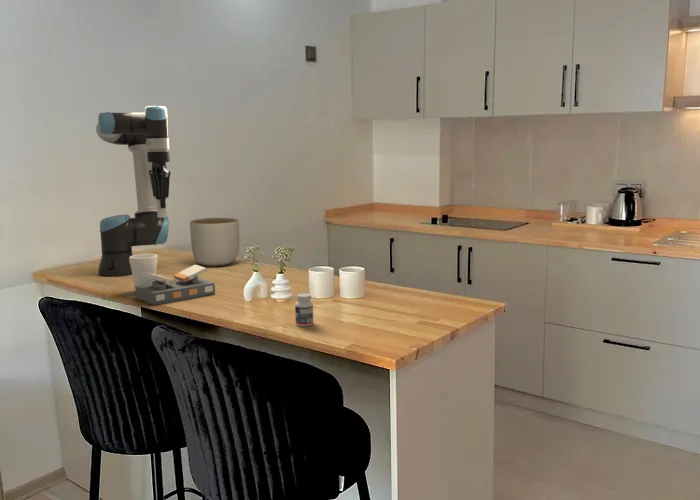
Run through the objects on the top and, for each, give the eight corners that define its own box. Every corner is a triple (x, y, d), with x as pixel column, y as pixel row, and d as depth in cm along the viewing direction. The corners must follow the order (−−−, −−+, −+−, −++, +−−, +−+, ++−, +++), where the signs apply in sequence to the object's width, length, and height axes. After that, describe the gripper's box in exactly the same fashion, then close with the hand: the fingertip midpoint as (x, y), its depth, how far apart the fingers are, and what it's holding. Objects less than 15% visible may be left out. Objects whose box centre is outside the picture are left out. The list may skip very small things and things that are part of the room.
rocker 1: (141, 276, 223) (142, 270, 223) (164, 282, 229) (166, 277, 229) (151, 280, 217) (153, 274, 217) (175, 286, 223) (177, 281, 223)
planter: (235, 268, 274) (234, 223, 270) (186, 268, 274) (184, 224, 271) (244, 259, 294) (242, 217, 291) (198, 259, 294) (196, 217, 291)
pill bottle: (295, 321, 195) (294, 293, 194) (313, 321, 196) (312, 292, 194) (295, 326, 190) (295, 297, 189) (313, 326, 191) (313, 296, 189)
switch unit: (136, 297, 226) (135, 281, 225) (196, 287, 241) (195, 272, 240) (153, 305, 215) (152, 288, 214) (215, 294, 230) (214, 278, 229)
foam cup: (162, 292, 233) (159, 257, 230) (135, 296, 228) (133, 259, 226) (155, 287, 241) (152, 253, 238) (129, 290, 236) (126, 255, 234)
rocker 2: (174, 280, 232) (172, 275, 231) (196, 269, 237) (194, 264, 236) (185, 284, 225) (183, 278, 225) (207, 272, 230) (205, 267, 230)
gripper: (140, 150, 232) (144, 216, 236) (156, 151, 222) (160, 219, 227) (160, 150, 237) (163, 214, 241) (176, 150, 227) (180, 218, 231)
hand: (162, 217), depth 234 cm, fingers closed
